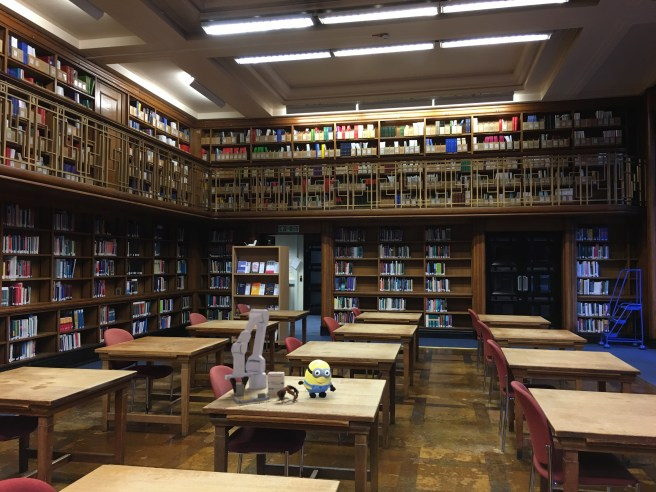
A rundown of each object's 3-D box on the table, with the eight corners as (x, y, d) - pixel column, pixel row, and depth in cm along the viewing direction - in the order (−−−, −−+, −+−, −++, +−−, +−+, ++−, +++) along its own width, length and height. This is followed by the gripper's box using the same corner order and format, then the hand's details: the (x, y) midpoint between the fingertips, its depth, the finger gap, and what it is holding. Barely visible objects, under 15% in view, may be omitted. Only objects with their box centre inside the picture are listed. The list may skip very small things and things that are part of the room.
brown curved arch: (285, 397, 262) (293, 383, 261) (296, 408, 256) (304, 394, 255) (269, 396, 253) (277, 382, 252) (280, 407, 246) (288, 393, 246)
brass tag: (250, 398, 248) (250, 394, 248) (250, 399, 247) (250, 395, 247) (243, 399, 246) (243, 395, 246) (243, 400, 245) (243, 396, 245)
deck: (244, 393, 267) (244, 391, 267) (248, 397, 260) (248, 395, 260) (229, 395, 263) (229, 393, 263) (233, 399, 256) (233, 397, 256)
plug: (241, 392, 265) (241, 382, 265) (244, 394, 260) (244, 384, 260) (233, 393, 263) (233, 383, 263) (236, 395, 258) (236, 385, 258)
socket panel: (264, 397, 259) (264, 393, 259) (269, 401, 251) (269, 396, 252) (233, 401, 251) (233, 397, 251) (238, 405, 244) (238, 400, 244)
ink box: (285, 393, 267) (285, 371, 267) (283, 396, 262) (283, 373, 262) (269, 393, 267) (269, 371, 268) (267, 395, 263) (267, 373, 263)
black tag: (264, 396, 251) (264, 392, 251) (265, 397, 251) (265, 393, 251) (257, 397, 250) (257, 393, 250) (258, 398, 249) (258, 394, 249)
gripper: (227, 368, 255) (227, 395, 255) (254, 365, 262) (254, 391, 261) (223, 366, 261) (223, 392, 261) (250, 363, 268) (250, 389, 267)
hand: (239, 391), depth 261 cm, fingers closed on plug, 4 cm apart
